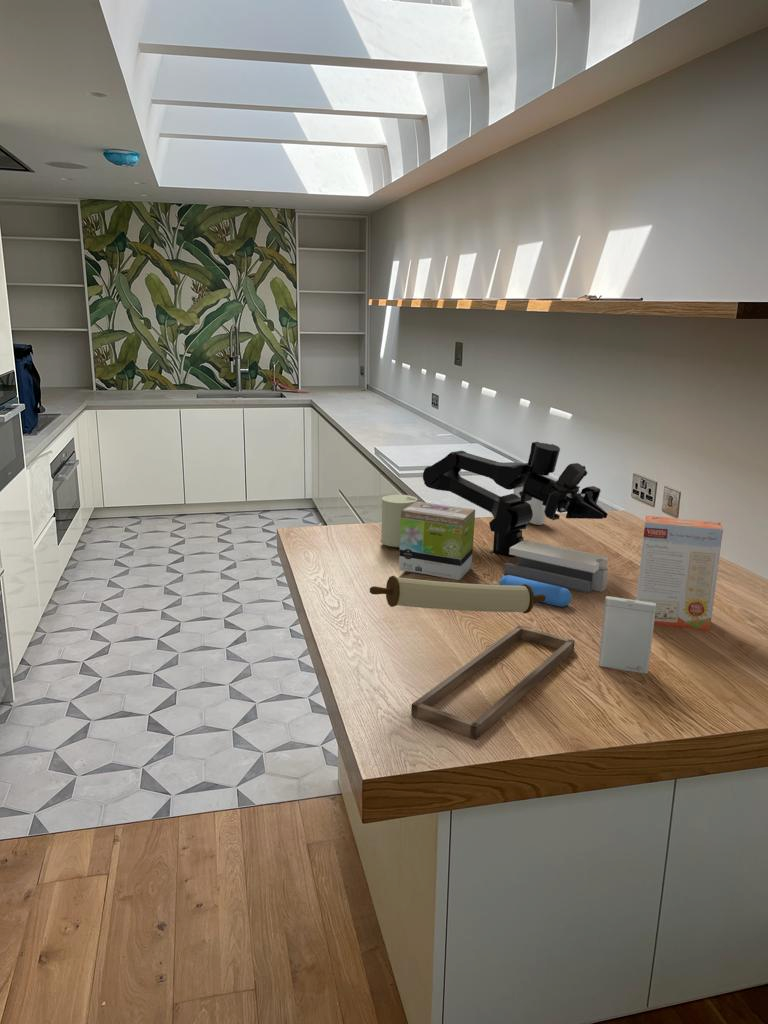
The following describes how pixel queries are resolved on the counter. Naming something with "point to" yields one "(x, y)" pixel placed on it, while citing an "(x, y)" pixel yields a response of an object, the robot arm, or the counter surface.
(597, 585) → the duct
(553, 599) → the blue pill shape
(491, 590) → the rolling pin
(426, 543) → the tea box
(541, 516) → the photo printer
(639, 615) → the hard drive
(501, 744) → the counter surface
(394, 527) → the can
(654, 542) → the cracker box
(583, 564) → the duct lid
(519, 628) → the frame
